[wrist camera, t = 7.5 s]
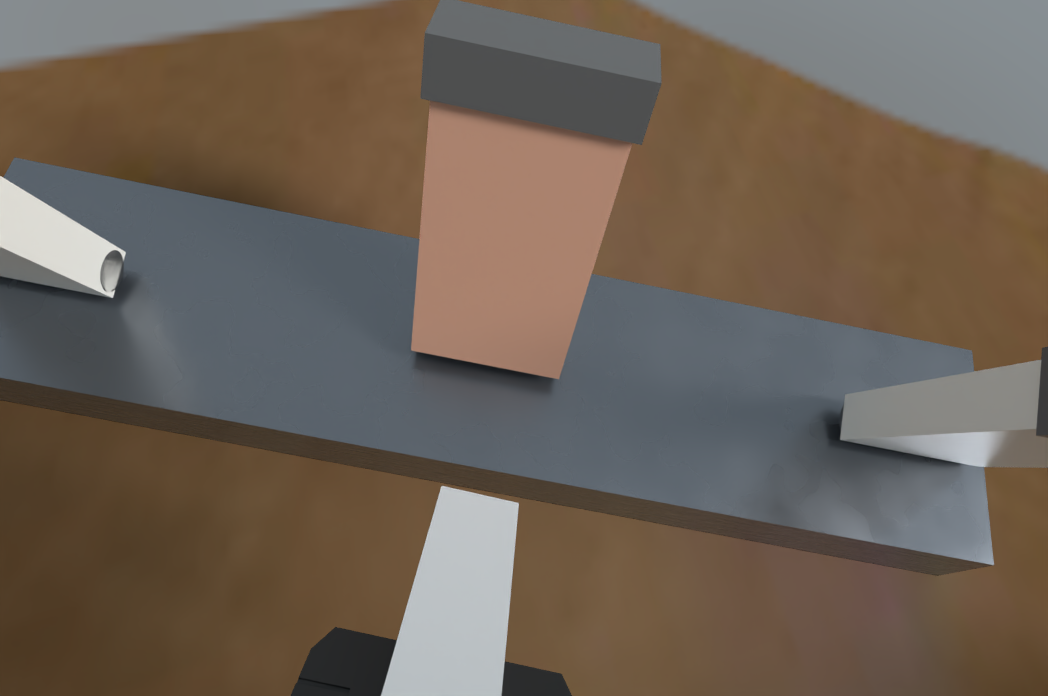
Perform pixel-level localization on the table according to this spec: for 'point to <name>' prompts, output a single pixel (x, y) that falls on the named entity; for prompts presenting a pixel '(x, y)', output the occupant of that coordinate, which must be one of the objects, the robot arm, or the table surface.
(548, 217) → the lever middle
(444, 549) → the robot arm
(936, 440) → the lever right
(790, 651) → the table surface
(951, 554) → the switch panel
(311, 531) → the table surface
